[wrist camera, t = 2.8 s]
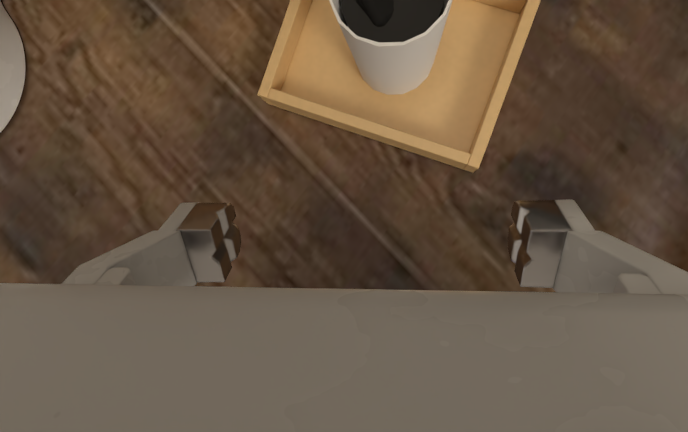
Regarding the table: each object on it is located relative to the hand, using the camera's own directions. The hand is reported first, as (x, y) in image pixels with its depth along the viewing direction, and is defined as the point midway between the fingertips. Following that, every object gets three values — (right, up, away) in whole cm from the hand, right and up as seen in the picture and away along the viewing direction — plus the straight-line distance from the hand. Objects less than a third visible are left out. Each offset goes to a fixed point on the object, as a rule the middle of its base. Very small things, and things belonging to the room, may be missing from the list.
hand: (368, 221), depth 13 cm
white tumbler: (+3, +12, +20) cm, 24 cm away
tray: (+3, +12, +20) cm, 24 cm away
